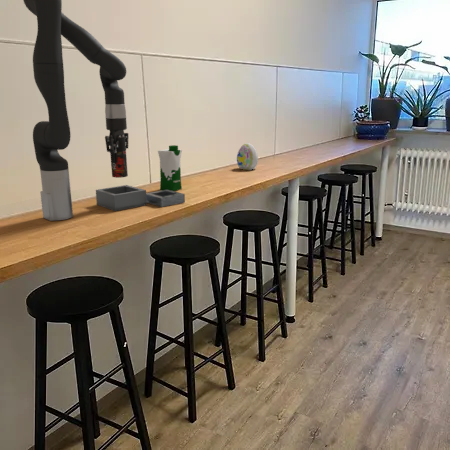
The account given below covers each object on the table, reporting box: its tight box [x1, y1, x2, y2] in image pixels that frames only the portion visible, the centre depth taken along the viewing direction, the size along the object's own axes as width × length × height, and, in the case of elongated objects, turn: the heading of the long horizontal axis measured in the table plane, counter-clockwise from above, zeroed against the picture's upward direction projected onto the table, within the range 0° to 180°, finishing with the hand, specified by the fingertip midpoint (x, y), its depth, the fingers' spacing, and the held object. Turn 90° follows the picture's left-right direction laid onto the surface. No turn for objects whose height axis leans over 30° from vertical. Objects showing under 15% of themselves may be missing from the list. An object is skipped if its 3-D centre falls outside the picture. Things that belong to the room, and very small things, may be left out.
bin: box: [95, 184, 148, 212], centre depth 177 cm, size 14×14×6 cm
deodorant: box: [109, 136, 128, 178], centre depth 173 cm, size 6×6×15 cm
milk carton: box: [157, 144, 183, 192], centre depth 203 cm, size 9×9×20 cm
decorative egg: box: [236, 142, 259, 171], centre depth 261 cm, size 12×12×15 cm
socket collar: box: [146, 190, 186, 208], centre depth 182 cm, size 12×12×4 cm
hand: (118, 161), depth 173 cm, fingers closed on deodorant, 6 cm apart
